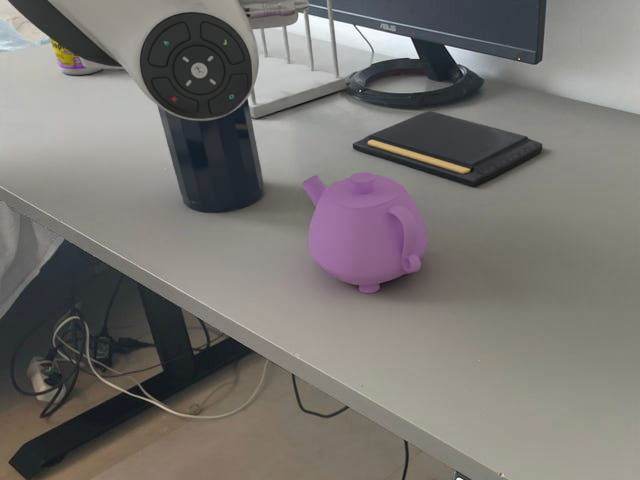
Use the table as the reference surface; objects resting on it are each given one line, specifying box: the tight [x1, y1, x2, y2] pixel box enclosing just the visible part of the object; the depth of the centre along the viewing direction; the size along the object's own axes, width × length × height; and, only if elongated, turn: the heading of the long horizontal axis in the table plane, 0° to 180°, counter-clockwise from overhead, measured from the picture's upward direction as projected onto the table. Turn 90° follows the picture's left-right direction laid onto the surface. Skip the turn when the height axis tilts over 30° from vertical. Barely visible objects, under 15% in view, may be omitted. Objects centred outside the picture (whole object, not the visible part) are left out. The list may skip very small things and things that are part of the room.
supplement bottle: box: [49, 37, 102, 76], centre depth 114 cm, size 7×7×13 cm
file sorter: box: [248, 0, 347, 119], centre depth 106 cm, size 25×17×16 cm
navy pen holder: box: [156, 98, 266, 213], centre depth 77 cm, size 9×9×11 cm
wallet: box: [352, 110, 543, 188], centre depth 91 cm, size 20×2×15 cm
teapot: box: [301, 171, 429, 294], centre depth 65 cm, size 10×15×9 cm
